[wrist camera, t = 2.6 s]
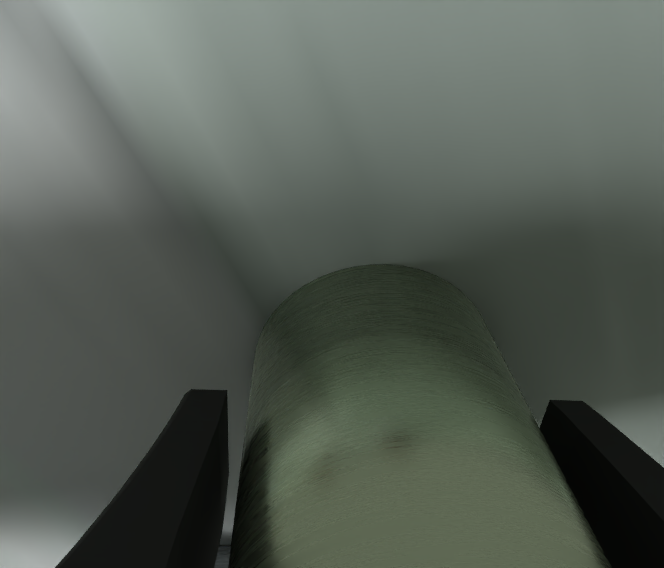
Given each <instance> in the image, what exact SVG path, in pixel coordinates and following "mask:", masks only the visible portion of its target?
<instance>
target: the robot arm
mask: <svg viewBox="0 0 664 568" xmlns="http://www.w3.org/2000/svg"><path fill="white" fill-rule="evenodd" d="M539 429H540V431H541V433H542V434H543V436H544V438H545V440H546V442H547V444H548V446H549V448H550V450H551V452H552V454H553V456H554V458H555V460H556V461H557V463H558V465H559V467H560V469H561V471H562V473H563V475H564V477H565V479H566V481H567V483H568V485H569V487H570V488H571V490H572V492H573V494H574V496H575V498H576V500H577V502H578V504H579V506H580V508H581V510H582V512H583V514H584V515H585V517H586V519H587V521H588V523H589V525H590V527H591V529H592V531H593V533H594V535H595V537H596V539H597V540H598V542H599V544H600V546H601V548H602V550H603V552H604V554H605V556H606V558H607V560H608V562H609V564H610V566H611V567H612V568H664V468H663V467H662V466H661V465H660V464H659V463H657V462H656V461H655V460H654V459H653V458H651V457H650V456H649V455H648V454H647V453H645V452H644V451H643V450H642V449H641V448H639V447H638V446H637V445H636V444H635V443H634V442H632V441H631V440H630V439H629V438H628V437H626V436H625V435H624V434H623V433H622V432H620V431H619V430H618V429H617V428H616V427H614V426H613V425H612V424H611V423H610V422H608V421H607V420H606V419H605V418H603V417H602V416H601V415H600V414H599V413H597V412H596V411H595V410H593V409H592V408H591V407H590V406H588V405H587V404H586V403H584V402H583V401H566V400H550V401H549V404H548V406H547V409H546V412H545V415H544V417H543V420H542V423H541V426H540V428H539ZM228 476H229V457H228V408H227V390H196V389H191V390H190V391H189V392H187V393H186V394H185V395H184V397H183V399H182V400H181V402H180V404H179V406H178V407H177V409H176V411H175V412H174V414H173V415H172V417H171V419H170V420H169V422H168V423H167V425H166V426H165V428H164V429H163V431H162V432H161V434H160V435H159V437H158V438H157V440H156V441H155V443H154V444H153V446H152V447H151V449H150V450H149V451H148V453H147V454H146V456H145V457H144V458H143V460H142V461H141V462H140V464H139V465H138V466H137V468H136V469H135V471H134V472H133V473H132V475H131V476H130V477H129V479H128V480H127V481H126V483H125V484H124V485H123V487H122V488H121V489H120V491H119V492H118V493H117V495H116V496H115V497H114V498H113V500H112V501H111V502H110V503H109V504H108V506H107V507H106V508H105V509H104V511H103V512H102V513H101V514H100V515H99V517H98V518H97V519H96V520H95V522H94V523H93V524H92V525H91V526H90V528H89V529H88V530H87V531H86V532H85V534H84V535H83V536H82V537H81V539H80V540H79V541H78V542H77V543H76V544H75V546H74V547H73V548H72V549H71V550H70V551H69V552H68V554H67V555H66V556H65V557H64V558H63V559H62V560H61V562H60V563H59V564H58V565H57V566H56V567H55V568H214V567H215V562H216V557H217V553H218V548H219V543H220V539H221V534H222V528H223V520H224V511H225V503H226V494H227V485H228Z"/></svg>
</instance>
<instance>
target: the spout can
mask: <svg viewBox="0 0 664 568" xmlns="http://www.w3.org/2000/svg"><path fill="white" fill-rule="evenodd" d="M228 568H612V567H611V566H610V564H609V562H608V560H607V558H606V556H605V554H604V552H603V550H602V548H601V546H600V544H599V542H598V540H597V539H596V537H595V535H594V533H593V531H592V529H591V527H590V525H589V523H588V521H587V519H586V517H585V515H584V514H583V512H582V510H581V508H580V506H579V504H578V502H577V500H576V498H575V496H574V494H573V492H572V490H571V488H570V487H569V485H568V483H567V481H566V479H565V477H564V475H563V473H562V471H561V469H560V467H559V465H558V463H557V461H556V460H555V458H554V456H553V454H552V452H551V450H550V448H549V446H548V444H547V442H546V440H545V438H544V436H543V434H542V433H541V431H540V429H539V427H538V425H537V423H536V421H535V419H534V417H533V415H532V413H531V411H530V409H529V407H528V406H527V404H526V402H525V400H524V398H523V396H522V394H521V392H520V390H519V388H518V386H517V384H516V382H515V380H514V379H513V377H512V375H511V373H510V371H509V369H508V367H507V365H506V363H505V361H504V359H503V357H502V355H501V354H500V352H499V350H498V348H497V346H496V344H495V342H494V340H493V338H492V336H491V334H490V332H489V330H488V328H487V327H486V325H485V323H484V321H483V319H482V317H481V315H480V313H479V311H478V310H477V309H476V307H475V306H474V305H473V303H472V302H471V301H470V300H469V299H468V298H467V297H466V296H465V295H464V294H463V293H462V292H461V291H460V290H458V289H457V288H456V287H454V286H453V285H452V284H450V283H449V282H447V281H445V280H443V279H441V278H439V277H438V276H436V275H433V274H430V273H428V272H425V271H422V270H419V269H414V268H410V267H406V266H398V265H388V264H386V265H364V266H356V267H351V268H347V269H343V270H339V271H335V272H333V273H330V274H327V275H325V276H322V277H320V278H318V279H316V280H314V281H312V282H310V283H308V284H306V285H305V286H303V287H302V288H300V289H299V290H297V291H296V292H294V293H293V294H292V295H291V296H290V297H288V298H287V299H286V300H285V301H284V302H283V303H282V304H281V305H280V306H279V307H278V308H277V309H276V311H275V312H274V313H273V314H272V315H271V317H270V318H269V320H268V322H267V323H266V325H265V326H264V328H263V330H262V333H261V335H260V337H259V340H258V343H257V347H256V351H255V358H254V366H253V374H252V382H251V390H250V398H249V406H248V414H247V421H246V429H245V437H244V445H243V453H242V461H241V469H240V477H239V485H238V493H237V501H236V509H235V517H234V525H233V533H232V541H231V549H230V557H229V565H228Z"/></svg>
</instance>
